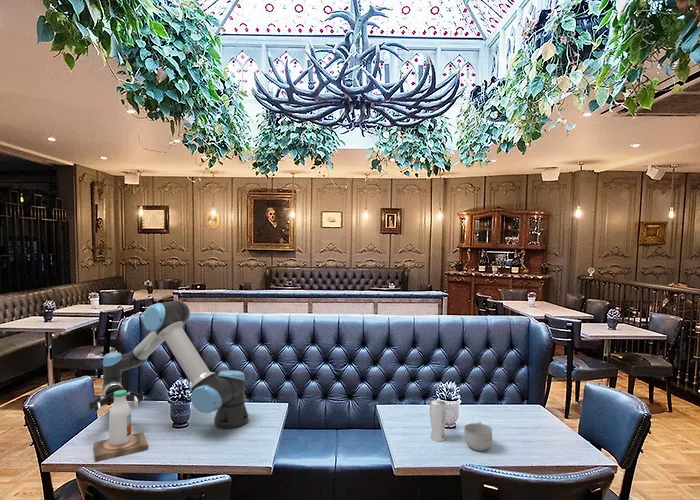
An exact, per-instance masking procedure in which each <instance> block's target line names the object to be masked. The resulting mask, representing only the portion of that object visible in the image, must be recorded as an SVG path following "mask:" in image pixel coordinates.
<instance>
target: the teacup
mask: <svg viewBox="0 0 700 500" xmlns="http://www.w3.org/2000/svg"><path fill="white" fill-rule="evenodd" d="M463 431H464V440H465V443H466V445H467V446H468V447H469V448H470V449H472V450H473V451H478V452H484V451H486V450H488V449H489V448H491V446H492V443H493V428H492V427H491V426H490V425H488V424H485V423H482V422H481V421H477V422H472V423H471V422H470V423H468V424H466V425H464V427H463Z"/></svg>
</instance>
